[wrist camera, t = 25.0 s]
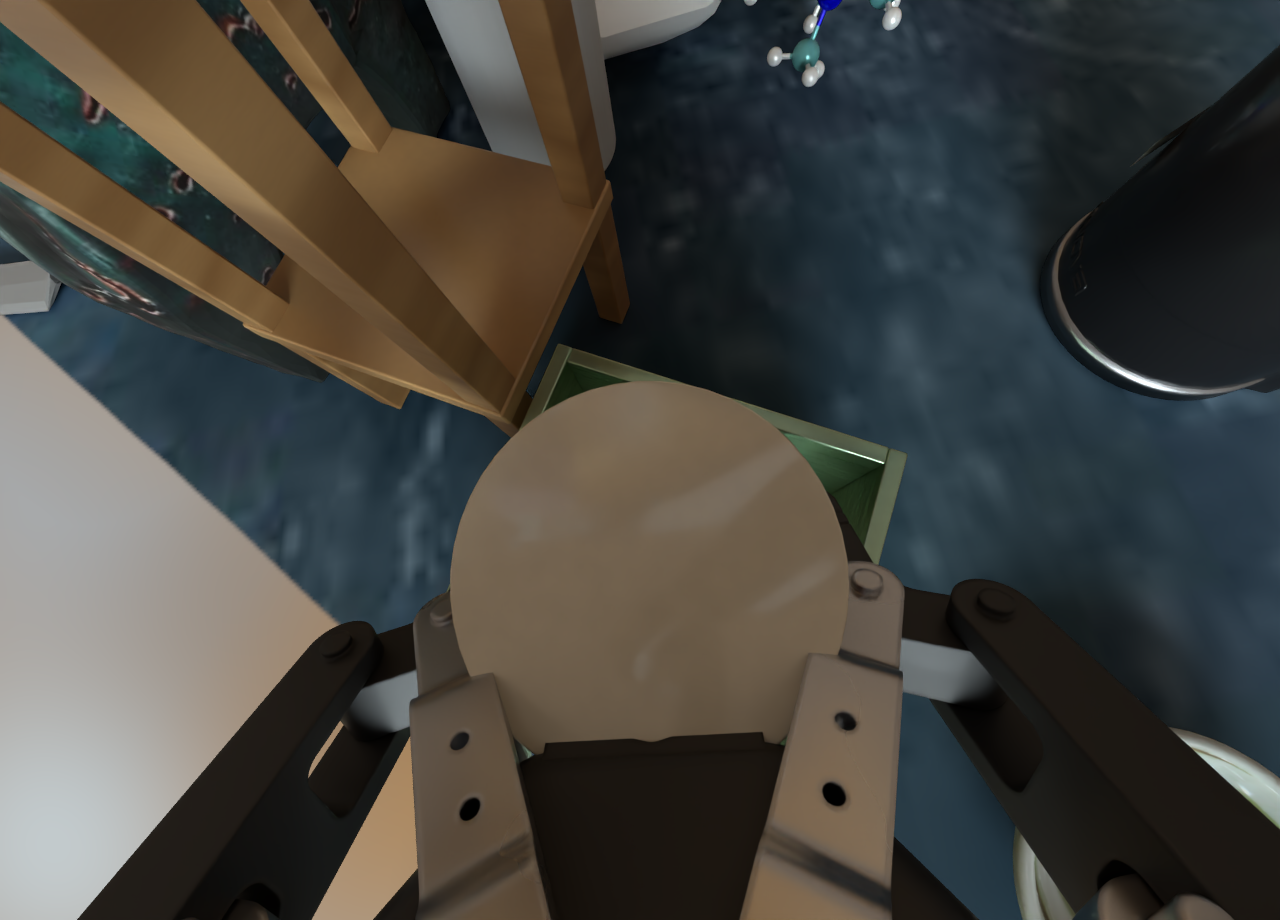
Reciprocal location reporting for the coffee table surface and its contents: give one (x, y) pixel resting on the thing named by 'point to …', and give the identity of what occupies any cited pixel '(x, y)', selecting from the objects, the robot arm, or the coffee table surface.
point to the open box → (839, 460)
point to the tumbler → (648, 570)
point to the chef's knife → (26, 288)
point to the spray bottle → (647, 22)
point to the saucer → (1268, 793)
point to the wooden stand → (339, 195)
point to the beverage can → (516, 75)
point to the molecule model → (808, 48)
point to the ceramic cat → (34, 88)
